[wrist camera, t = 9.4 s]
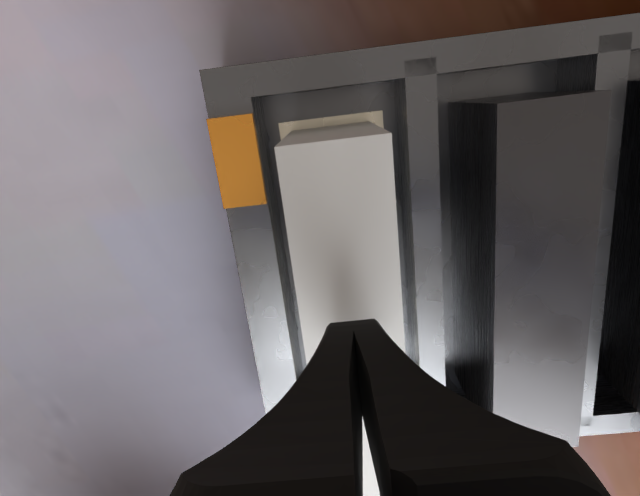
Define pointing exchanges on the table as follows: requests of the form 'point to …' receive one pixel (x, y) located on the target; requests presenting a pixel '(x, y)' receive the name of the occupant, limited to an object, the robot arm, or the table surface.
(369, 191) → the white rectangular block
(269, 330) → the rack
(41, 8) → the table surface
